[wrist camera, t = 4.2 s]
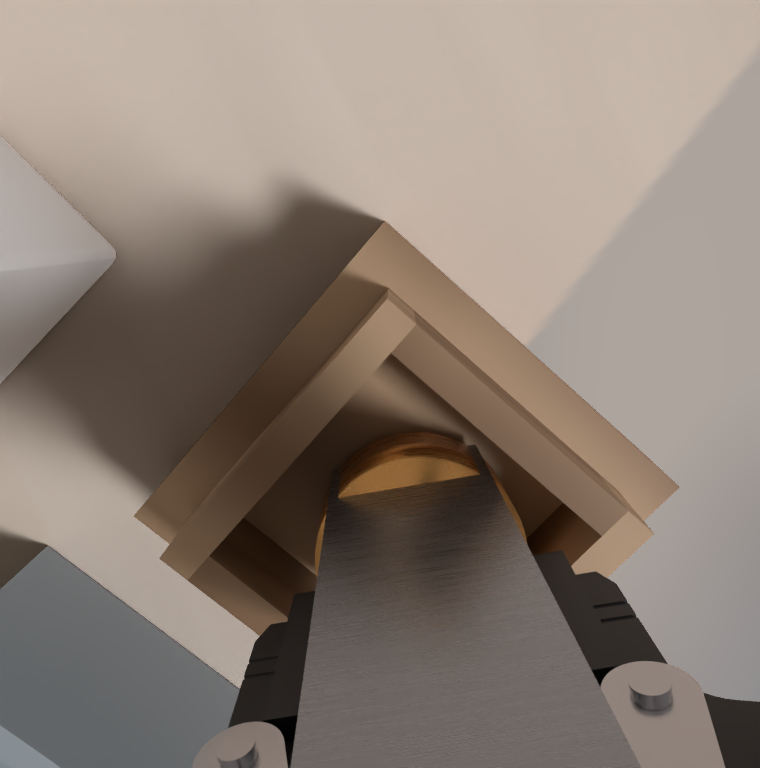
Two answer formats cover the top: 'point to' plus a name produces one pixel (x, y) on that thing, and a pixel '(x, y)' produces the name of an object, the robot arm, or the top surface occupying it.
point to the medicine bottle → (40, 258)
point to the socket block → (386, 418)
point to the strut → (440, 627)
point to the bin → (97, 679)
